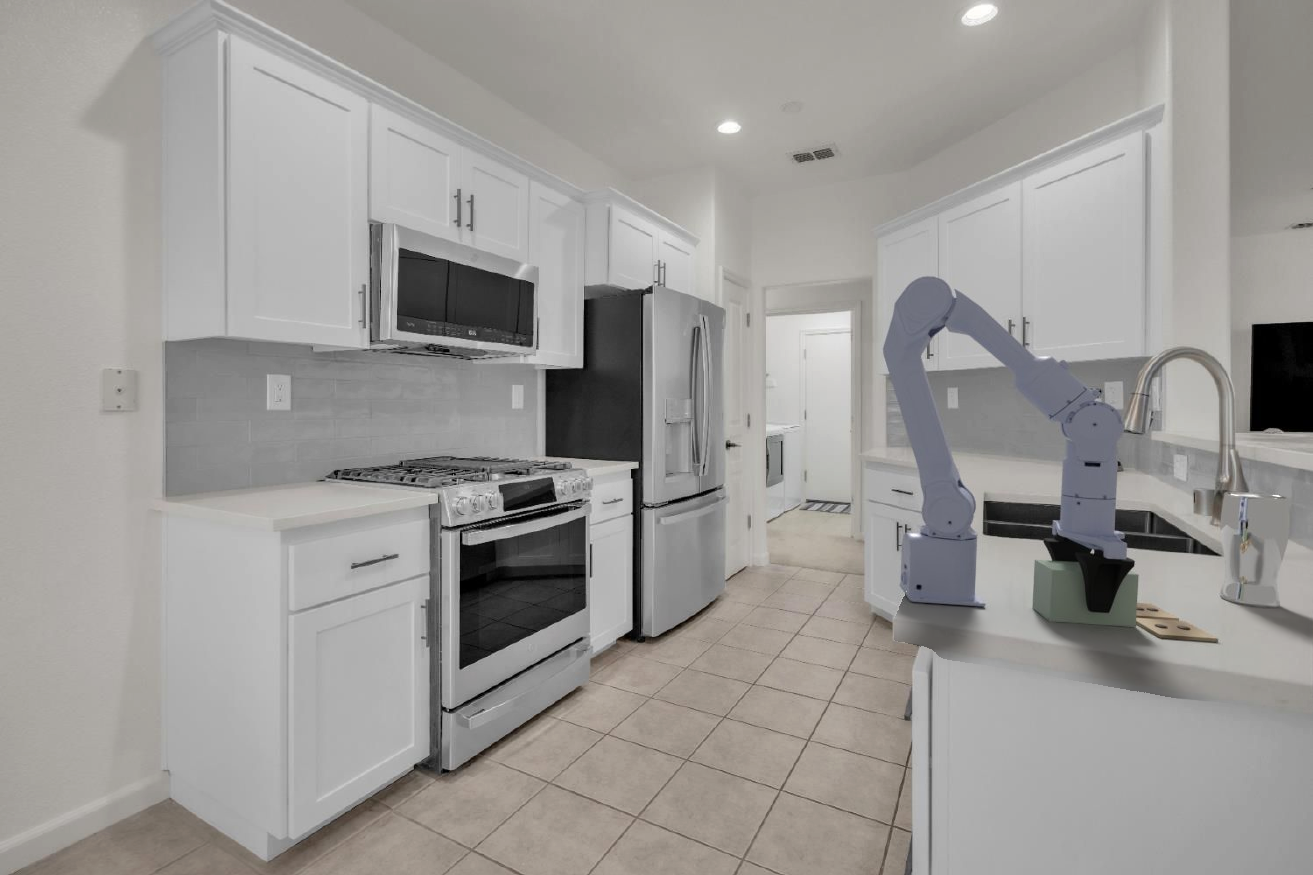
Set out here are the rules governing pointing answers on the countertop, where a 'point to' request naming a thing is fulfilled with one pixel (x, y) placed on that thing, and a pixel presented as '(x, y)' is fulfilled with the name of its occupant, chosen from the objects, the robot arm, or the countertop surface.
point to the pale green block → (1079, 596)
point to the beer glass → (1253, 546)
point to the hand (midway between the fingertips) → (1083, 602)
